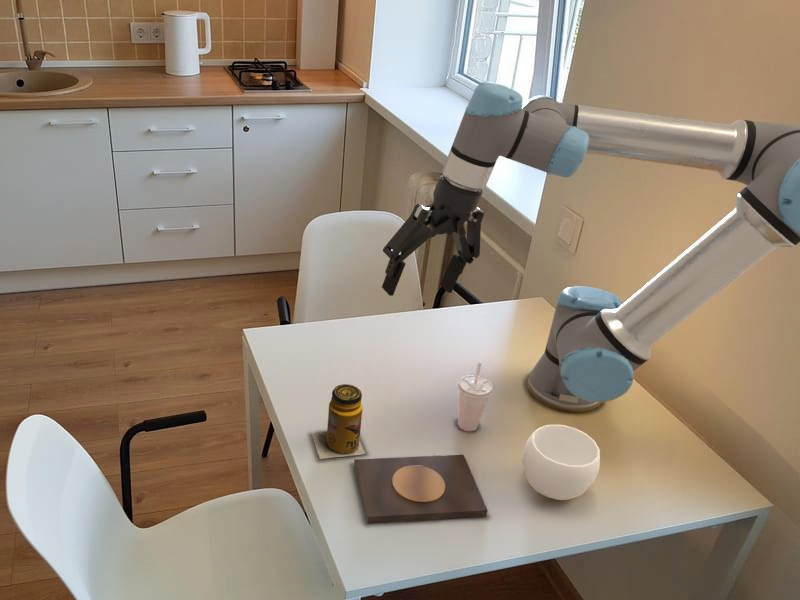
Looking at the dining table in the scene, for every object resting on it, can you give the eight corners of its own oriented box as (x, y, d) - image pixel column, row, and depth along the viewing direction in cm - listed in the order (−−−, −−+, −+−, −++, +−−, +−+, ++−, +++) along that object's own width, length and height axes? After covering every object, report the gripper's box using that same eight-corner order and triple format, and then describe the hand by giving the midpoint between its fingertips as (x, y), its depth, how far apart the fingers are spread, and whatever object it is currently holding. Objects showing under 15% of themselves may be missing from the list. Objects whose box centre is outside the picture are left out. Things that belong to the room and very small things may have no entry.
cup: (603, 506, 123) (618, 463, 118) (538, 518, 120) (551, 474, 115) (565, 459, 133) (577, 417, 128) (504, 468, 130) (514, 426, 125)
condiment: (365, 454, 131) (370, 401, 125) (319, 459, 130) (323, 406, 123) (354, 429, 137) (359, 377, 131) (311, 434, 136) (313, 381, 129)
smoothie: (482, 416, 143) (495, 357, 135) (485, 437, 137) (499, 376, 130) (450, 413, 143) (461, 354, 135) (451, 433, 138) (463, 373, 130)
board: (462, 460, 131) (463, 453, 130) (486, 516, 120) (487, 509, 119) (353, 465, 129) (354, 458, 128) (367, 523, 117) (368, 516, 116)
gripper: (502, 174, 127) (456, 276, 139) (389, 167, 114) (350, 280, 126) (529, 194, 122) (480, 298, 134) (415, 189, 109) (372, 305, 121)
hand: (417, 290), depth 130 cm, fingers open, 13 cm apart
